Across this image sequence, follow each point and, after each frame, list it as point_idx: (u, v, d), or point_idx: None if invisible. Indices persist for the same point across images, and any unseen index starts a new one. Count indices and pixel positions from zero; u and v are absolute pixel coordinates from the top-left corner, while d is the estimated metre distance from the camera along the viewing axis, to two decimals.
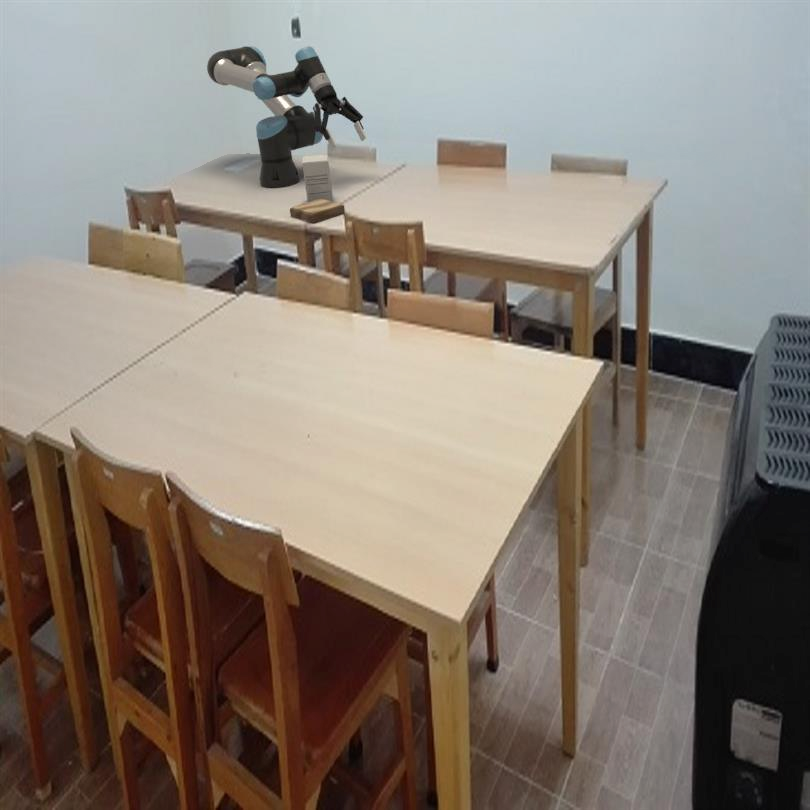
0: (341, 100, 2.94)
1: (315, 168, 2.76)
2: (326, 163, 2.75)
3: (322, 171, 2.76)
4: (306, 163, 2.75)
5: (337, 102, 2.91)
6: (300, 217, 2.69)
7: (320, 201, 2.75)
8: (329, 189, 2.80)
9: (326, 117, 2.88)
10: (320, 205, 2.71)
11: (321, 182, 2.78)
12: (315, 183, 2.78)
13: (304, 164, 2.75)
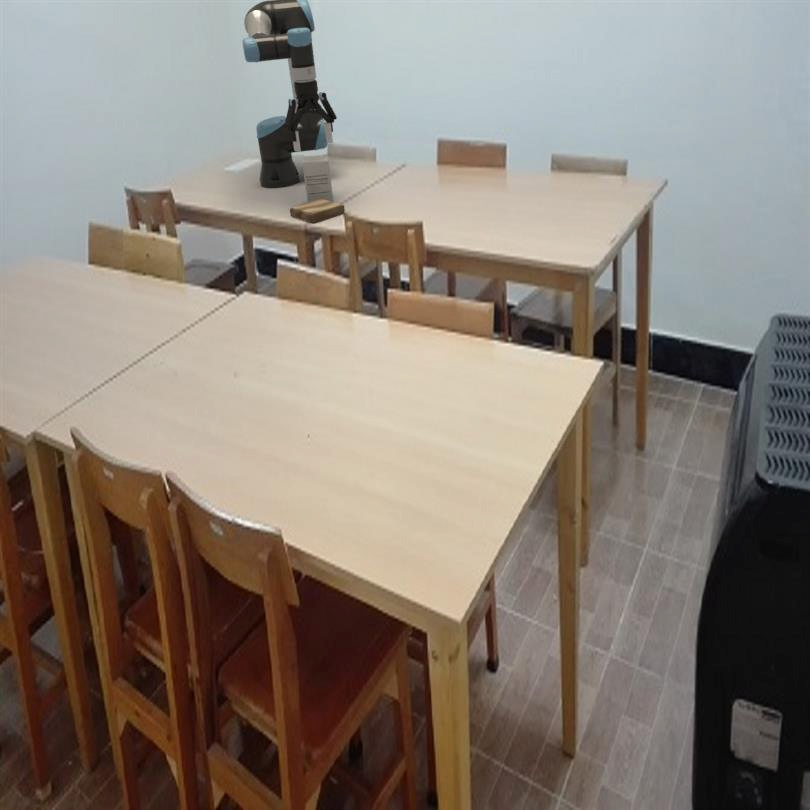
0: (320, 95, 2.71)
1: (315, 169, 2.76)
2: (326, 163, 2.75)
3: (322, 171, 2.76)
4: (306, 163, 2.75)
5: (315, 101, 2.69)
6: (300, 217, 2.69)
7: (320, 201, 2.75)
8: (329, 189, 2.80)
9: (299, 117, 2.68)
10: (320, 205, 2.71)
11: (321, 182, 2.78)
12: (315, 183, 2.78)
13: (304, 164, 2.75)
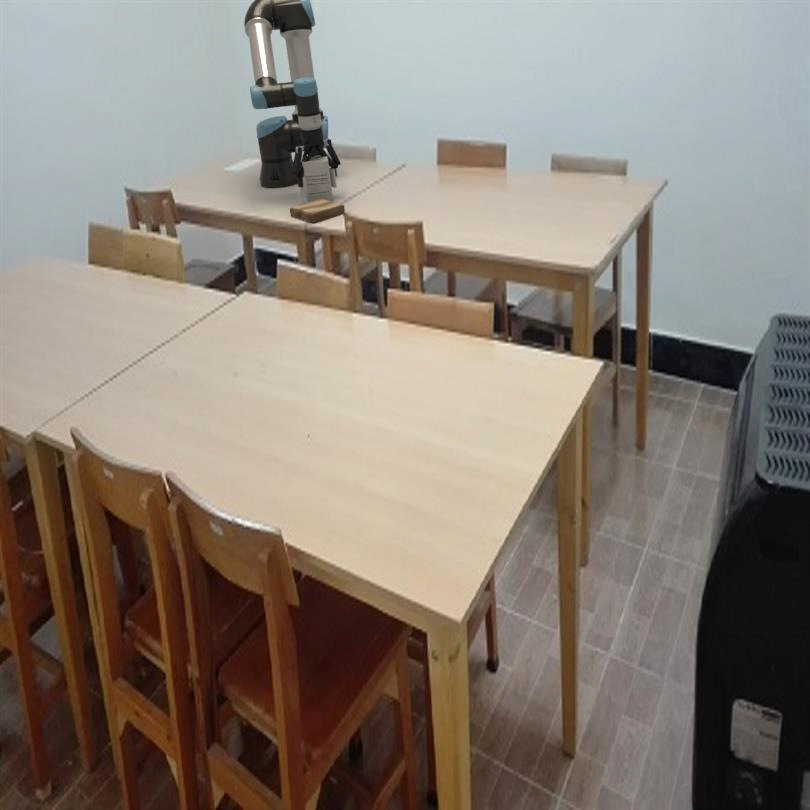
0: (325, 141, 2.79)
1: (314, 168, 2.76)
2: (325, 163, 2.75)
3: (321, 171, 2.76)
4: (306, 163, 2.75)
5: (321, 147, 2.76)
6: (300, 217, 2.69)
7: (320, 201, 2.75)
8: (329, 189, 2.80)
9: None
10: (320, 205, 2.71)
11: (321, 182, 2.78)
12: (315, 183, 2.78)
13: (304, 164, 2.75)
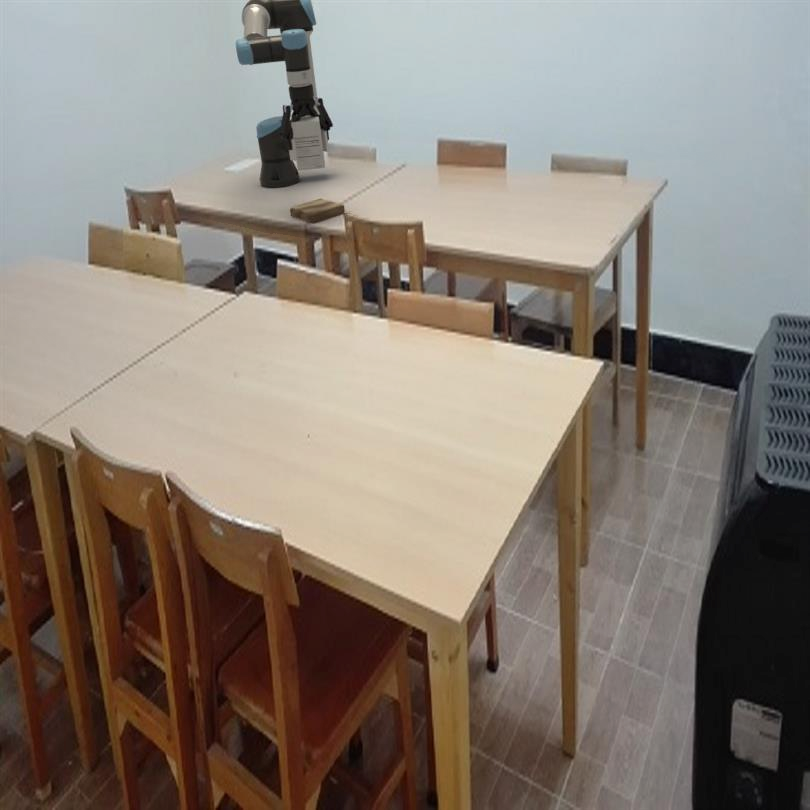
0: (316, 101, 2.57)
1: (304, 129, 2.54)
2: (316, 124, 2.53)
3: (312, 132, 2.55)
4: (295, 123, 2.53)
5: (311, 106, 2.55)
6: (300, 217, 2.69)
7: (320, 201, 2.75)
8: (320, 152, 2.58)
9: None
10: (320, 205, 2.71)
11: (312, 144, 2.56)
12: (305, 146, 2.57)
13: (293, 124, 2.53)
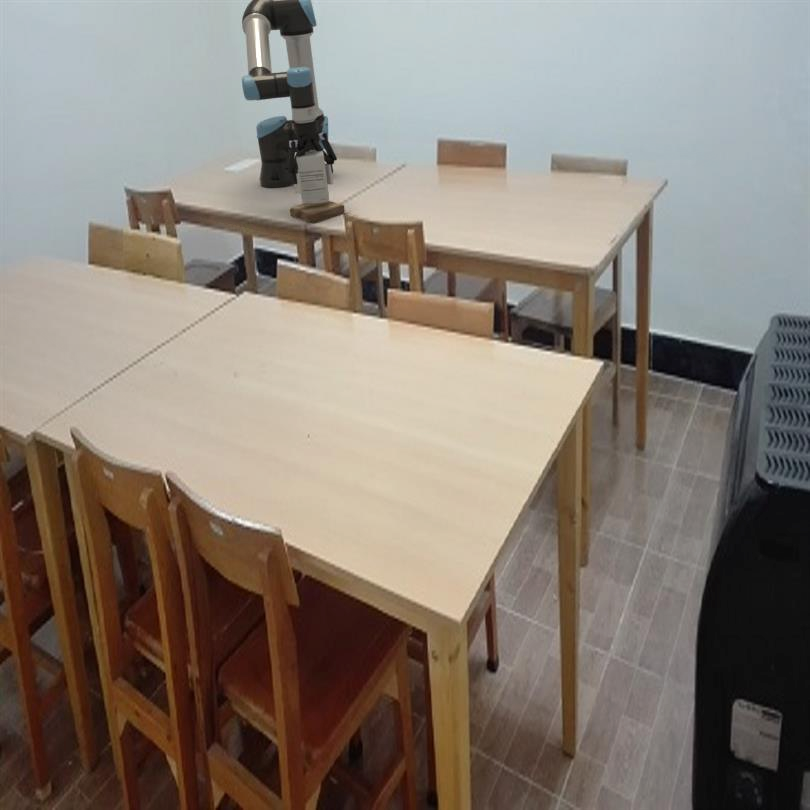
0: (321, 135, 2.62)
1: (309, 164, 2.59)
2: (321, 158, 2.59)
3: (317, 167, 2.60)
4: (300, 158, 2.58)
5: (316, 141, 2.60)
6: (300, 217, 2.69)
7: None
8: (325, 186, 2.63)
9: None
10: (320, 205, 2.71)
11: (316, 178, 2.62)
12: (310, 180, 2.62)
13: (298, 159, 2.58)
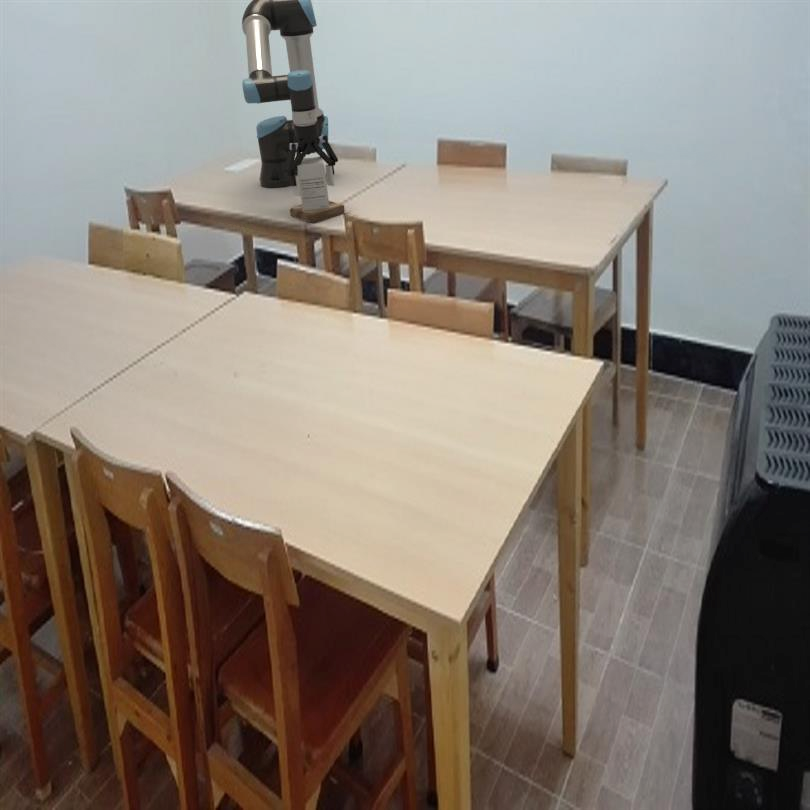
0: (321, 138, 2.63)
1: (310, 172, 2.61)
2: (321, 166, 2.60)
3: (317, 174, 2.61)
4: (301, 166, 2.59)
5: (316, 144, 2.60)
6: (300, 217, 2.69)
7: None
8: (325, 193, 2.65)
9: (299, 161, 2.59)
10: None
11: (317, 185, 2.63)
12: (310, 187, 2.63)
13: (298, 167, 2.60)
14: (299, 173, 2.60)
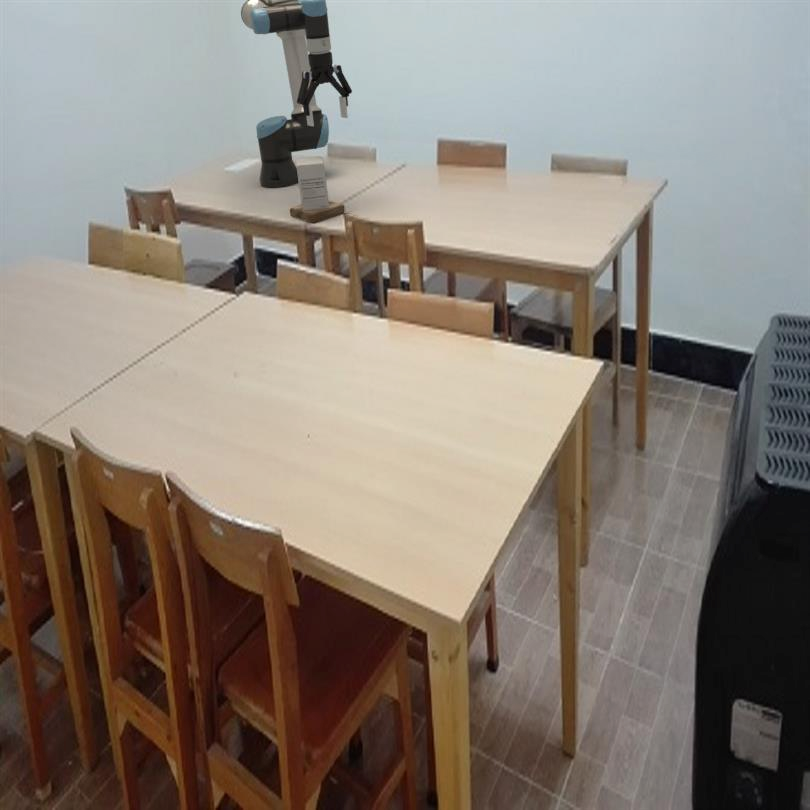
0: (335, 68, 2.62)
1: (310, 172, 2.61)
2: (321, 166, 2.60)
3: (317, 174, 2.61)
4: (301, 166, 2.59)
5: (330, 73, 2.60)
6: (300, 217, 2.69)
7: None
8: (325, 193, 2.65)
9: (313, 90, 2.59)
10: None
11: (317, 185, 2.63)
12: (310, 187, 2.63)
13: (298, 167, 2.60)
14: (299, 173, 2.60)
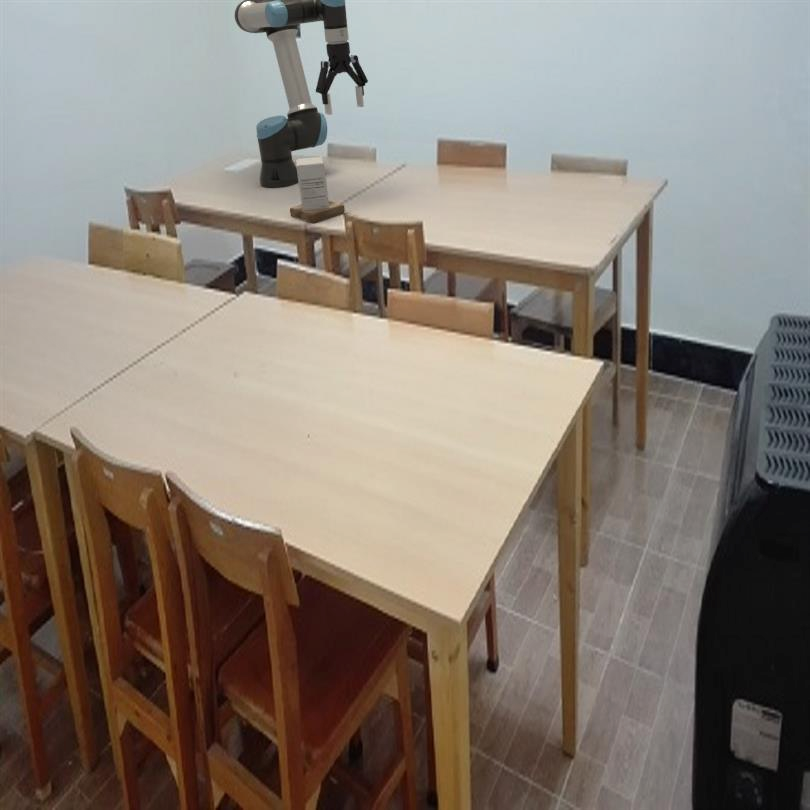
0: (352, 58, 2.70)
1: (310, 172, 2.61)
2: (321, 166, 2.60)
3: (317, 174, 2.61)
4: (301, 166, 2.59)
5: (347, 63, 2.67)
6: (300, 217, 2.69)
7: None
8: (325, 193, 2.65)
9: (331, 79, 2.66)
10: None
11: (317, 185, 2.63)
12: (310, 187, 2.63)
13: (298, 167, 2.60)
14: (299, 173, 2.60)
